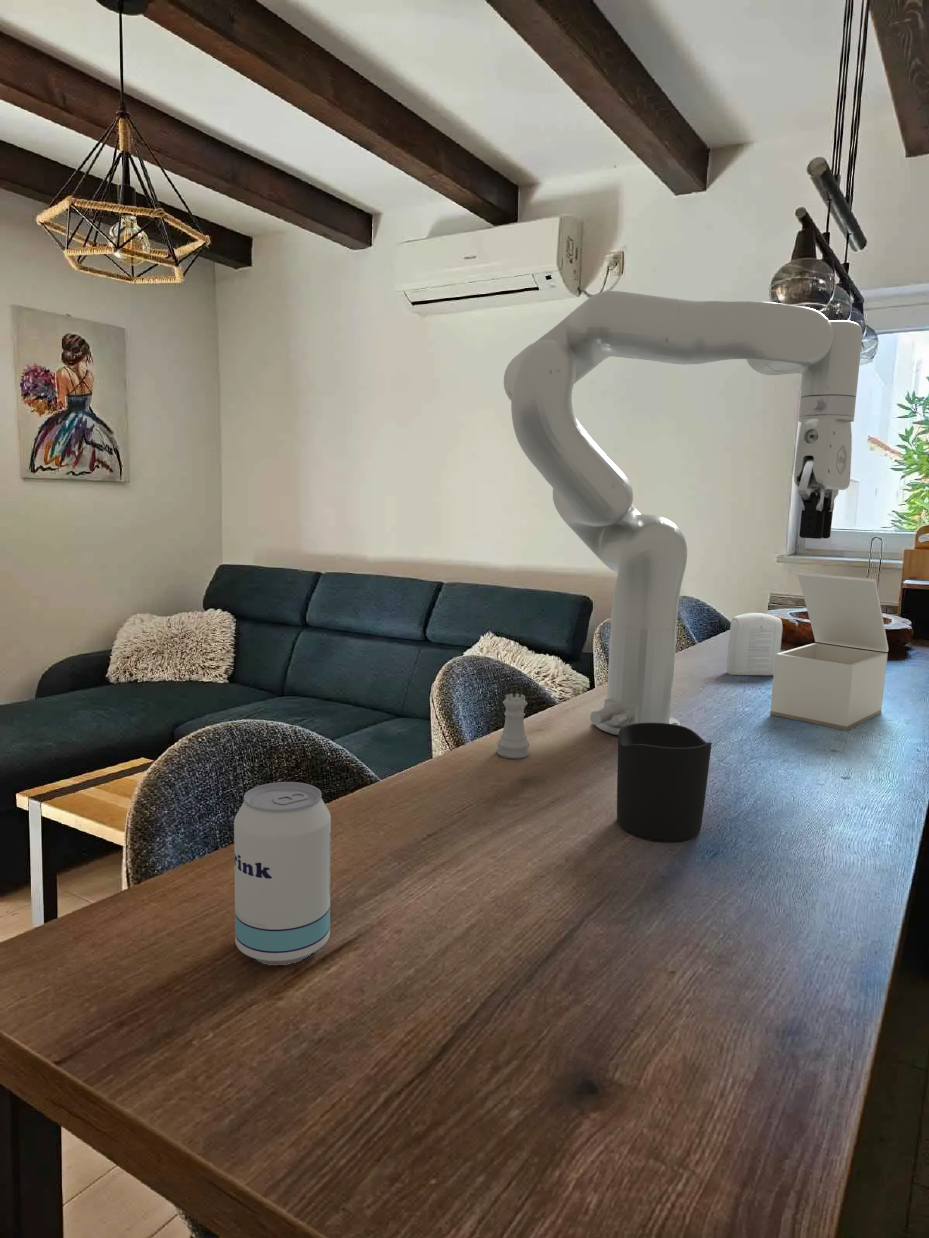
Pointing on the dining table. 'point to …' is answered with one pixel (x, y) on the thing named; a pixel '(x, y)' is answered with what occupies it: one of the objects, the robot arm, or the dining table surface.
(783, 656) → the carton
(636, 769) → the pen holder
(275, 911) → the beverage can
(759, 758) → the dining table surface
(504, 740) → the rook chess piece
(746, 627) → the photo printer
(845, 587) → the carton lid
